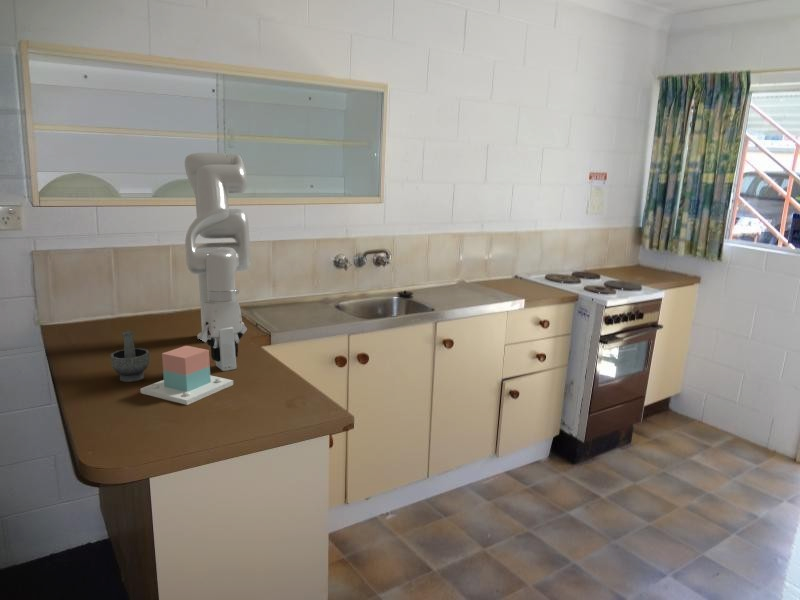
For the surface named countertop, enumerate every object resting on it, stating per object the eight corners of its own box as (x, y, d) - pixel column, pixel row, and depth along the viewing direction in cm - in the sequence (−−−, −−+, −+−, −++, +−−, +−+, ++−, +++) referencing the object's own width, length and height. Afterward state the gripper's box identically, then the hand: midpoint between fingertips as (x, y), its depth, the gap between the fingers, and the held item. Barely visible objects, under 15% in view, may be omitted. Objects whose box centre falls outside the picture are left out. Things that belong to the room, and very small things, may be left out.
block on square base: (188, 374, 168) (186, 339, 166) (233, 384, 161) (231, 348, 159) (140, 393, 154) (137, 355, 152) (187, 405, 147) (184, 365, 145)
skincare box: (237, 369, 173) (235, 327, 170) (221, 371, 170) (219, 330, 168) (229, 363, 178) (227, 323, 175) (214, 366, 175) (211, 325, 173)
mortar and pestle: (151, 381, 163) (148, 337, 160) (113, 386, 159) (109, 341, 156) (149, 368, 172) (145, 327, 170) (112, 372, 168) (108, 331, 166)
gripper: (240, 289, 178) (243, 349, 182) (186, 298, 166) (190, 362, 170) (255, 293, 173) (257, 354, 177) (201, 302, 161) (205, 368, 165)
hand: (225, 357), depth 174 cm, fingers closed on skincare box, 4 cm apart
